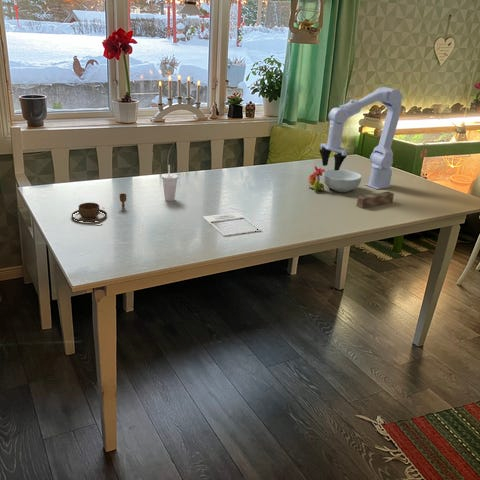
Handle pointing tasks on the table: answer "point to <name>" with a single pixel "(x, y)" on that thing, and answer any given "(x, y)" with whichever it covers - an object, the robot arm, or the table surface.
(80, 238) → the table surface
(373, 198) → the block
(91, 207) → the place setting
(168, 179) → the smoothie
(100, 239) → the table surface
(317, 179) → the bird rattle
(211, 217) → the photo frame
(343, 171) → the cereal bowl
